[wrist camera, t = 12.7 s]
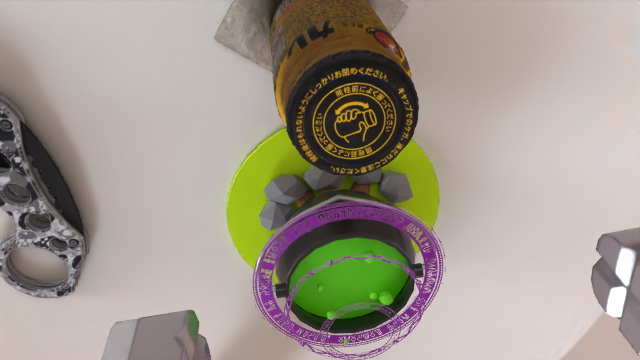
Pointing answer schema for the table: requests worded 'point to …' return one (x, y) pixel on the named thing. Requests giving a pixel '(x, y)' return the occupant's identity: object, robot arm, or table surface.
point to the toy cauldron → (336, 240)
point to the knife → (36, 207)
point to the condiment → (332, 76)
